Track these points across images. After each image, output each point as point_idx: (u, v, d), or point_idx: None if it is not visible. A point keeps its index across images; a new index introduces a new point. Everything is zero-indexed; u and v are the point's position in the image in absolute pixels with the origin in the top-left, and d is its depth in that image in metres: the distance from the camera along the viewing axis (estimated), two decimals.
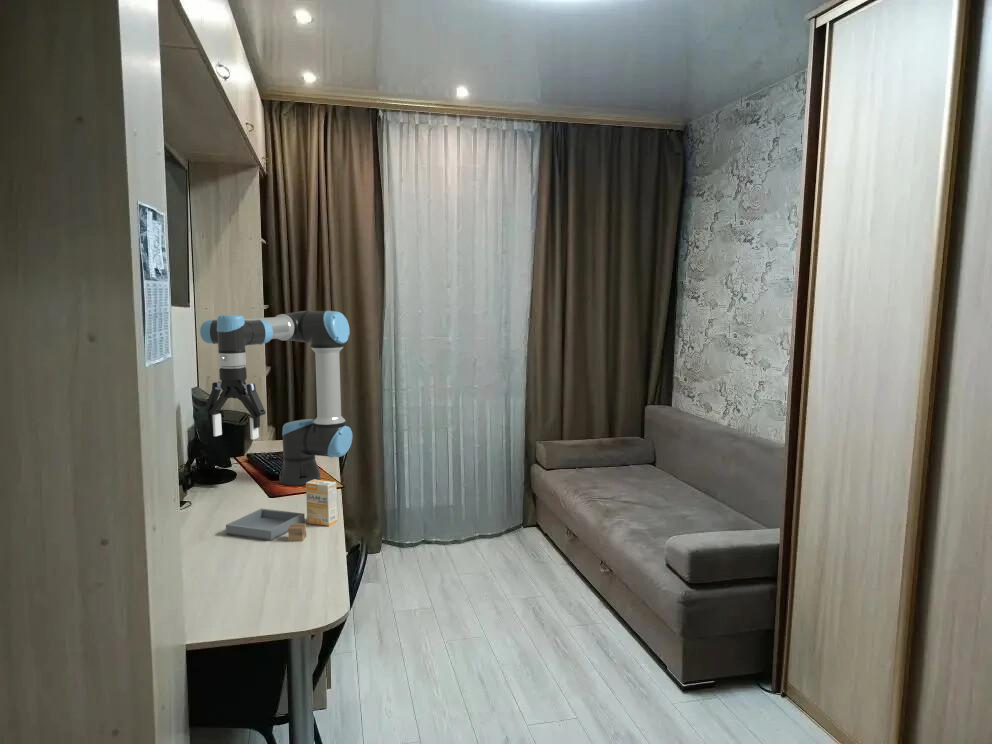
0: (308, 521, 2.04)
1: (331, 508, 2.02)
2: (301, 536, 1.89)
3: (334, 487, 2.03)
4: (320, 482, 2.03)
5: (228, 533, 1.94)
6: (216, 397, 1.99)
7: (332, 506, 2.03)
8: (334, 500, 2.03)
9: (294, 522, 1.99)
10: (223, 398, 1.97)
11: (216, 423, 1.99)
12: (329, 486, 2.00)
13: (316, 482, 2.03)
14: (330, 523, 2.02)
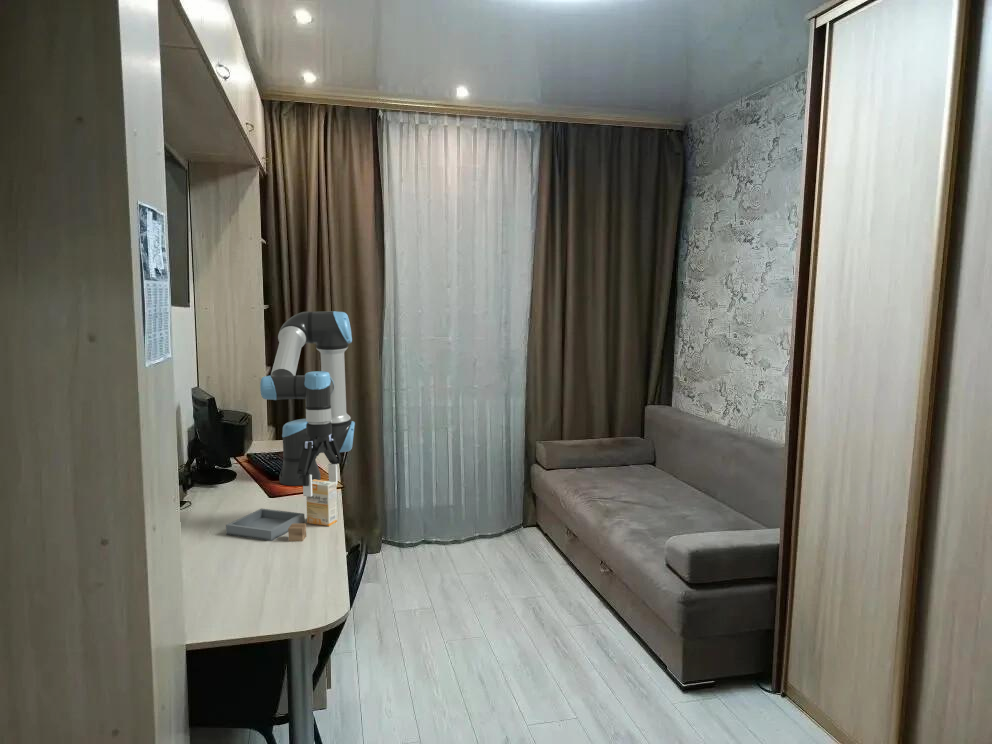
0: (308, 521, 2.04)
1: (331, 508, 2.02)
2: (301, 536, 1.89)
3: (334, 487, 2.03)
4: (320, 482, 2.03)
5: (228, 533, 1.94)
6: (332, 447, 2.08)
7: (332, 506, 2.03)
8: (334, 500, 2.03)
9: (294, 522, 1.99)
10: None
11: (330, 472, 2.09)
12: (329, 486, 2.00)
13: (316, 482, 2.03)
14: (330, 523, 2.02)
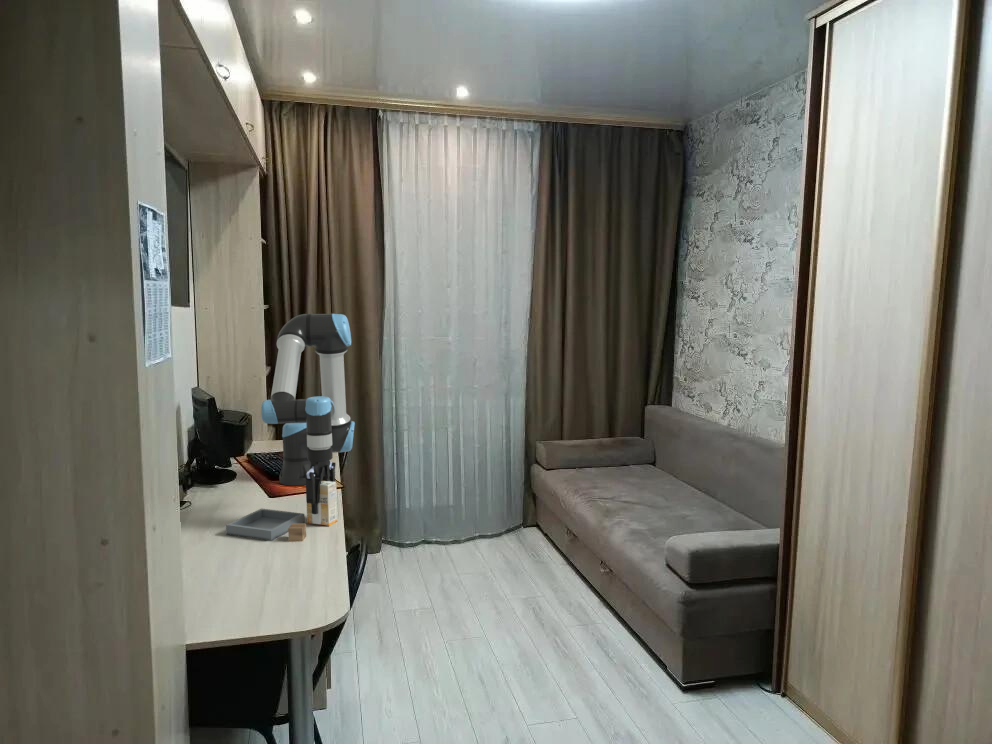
0: (308, 521, 2.04)
1: (331, 508, 2.02)
2: (301, 536, 1.89)
3: (334, 487, 2.03)
4: None
5: (228, 533, 1.94)
6: (330, 477, 2.08)
7: (332, 506, 2.03)
8: (334, 499, 2.03)
9: (294, 522, 1.99)
10: None
11: None
12: (329, 486, 2.00)
13: None
14: (330, 523, 2.02)
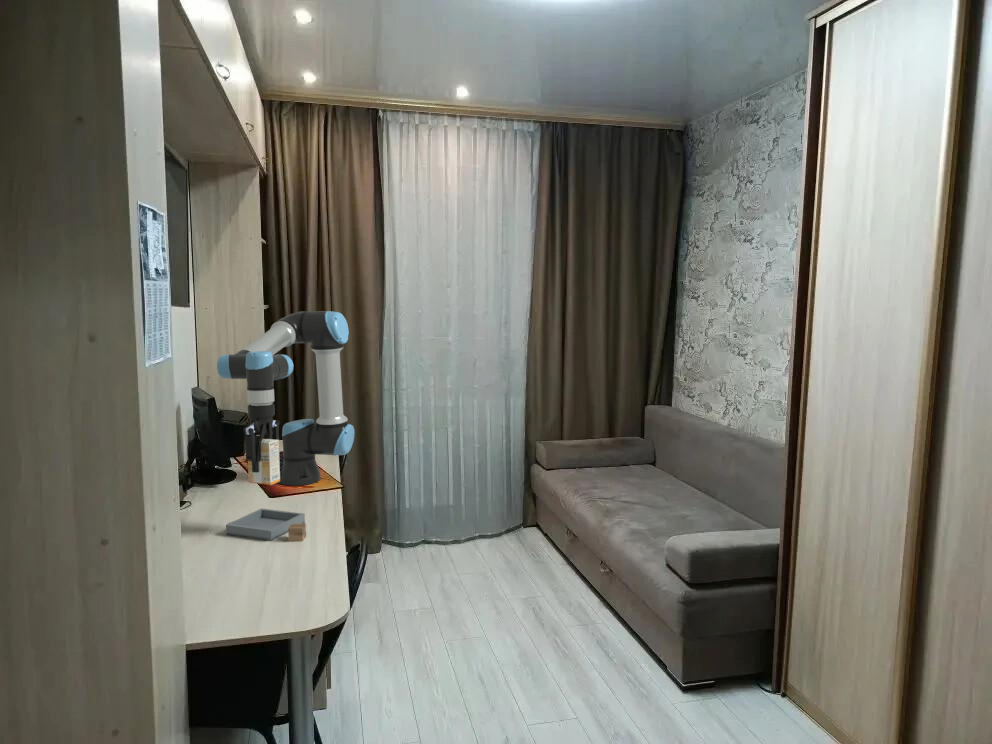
0: (250, 480, 1.97)
1: (273, 466, 1.95)
2: (301, 536, 1.89)
3: (276, 445, 1.96)
4: (262, 440, 1.96)
5: (228, 533, 1.94)
6: (273, 435, 2.01)
7: (274, 464, 1.96)
8: (276, 458, 1.96)
9: (294, 522, 1.99)
10: None
11: None
12: (270, 443, 1.94)
13: None
14: (272, 482, 1.95)
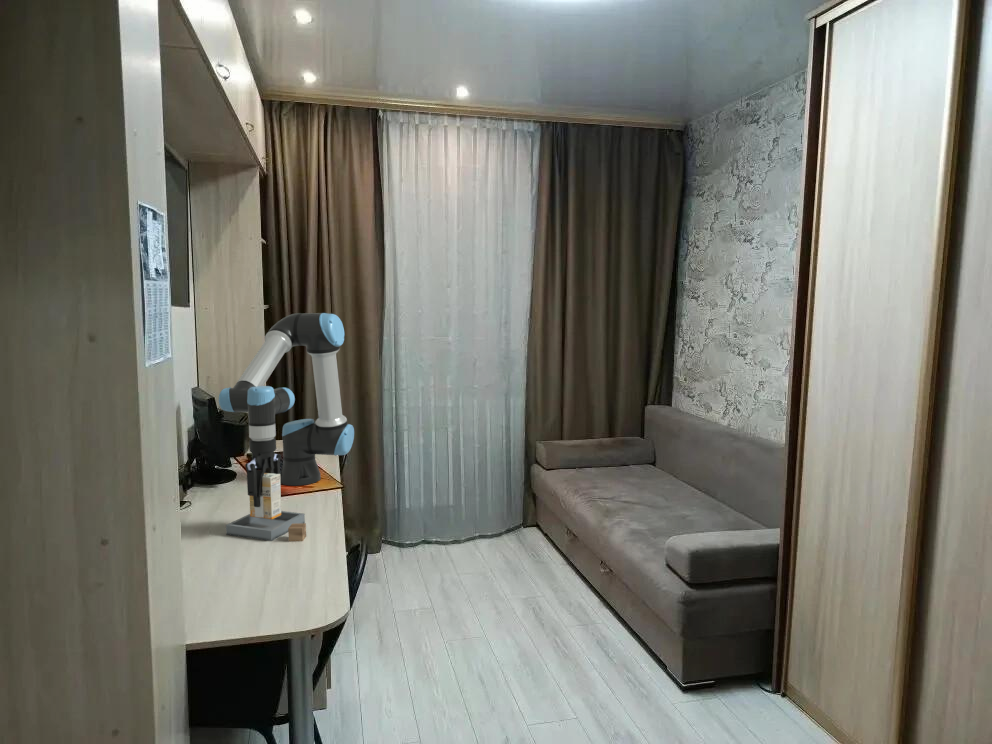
0: (251, 514, 1.98)
1: (274, 501, 1.96)
2: (301, 536, 1.89)
3: (278, 479, 1.97)
4: None
5: (228, 533, 1.94)
6: (274, 469, 2.02)
7: (276, 498, 1.97)
8: (277, 492, 1.97)
9: (294, 522, 1.99)
10: None
11: None
12: (272, 478, 1.95)
13: None
14: (273, 516, 1.96)
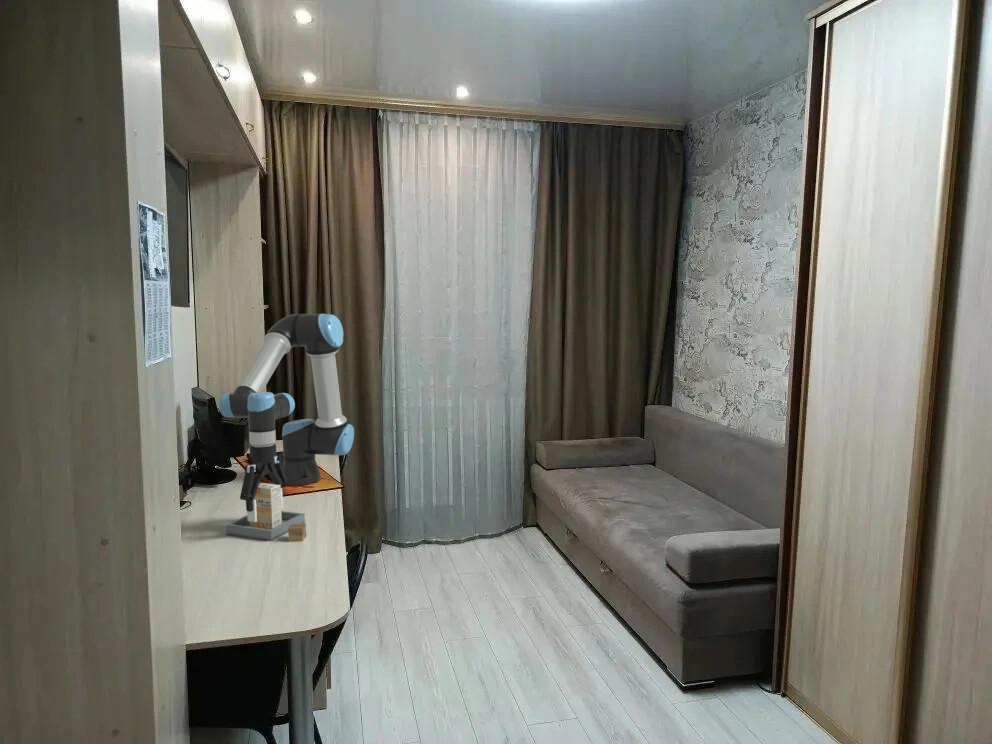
0: (251, 525, 1.98)
1: (275, 512, 1.97)
2: (301, 536, 1.89)
3: (278, 490, 1.98)
4: (263, 485, 1.97)
5: (228, 533, 1.94)
6: (278, 470, 2.04)
7: (276, 509, 1.97)
8: (278, 503, 1.98)
9: (294, 522, 1.99)
10: None
11: None
12: (272, 489, 1.95)
13: (259, 485, 1.97)
14: None
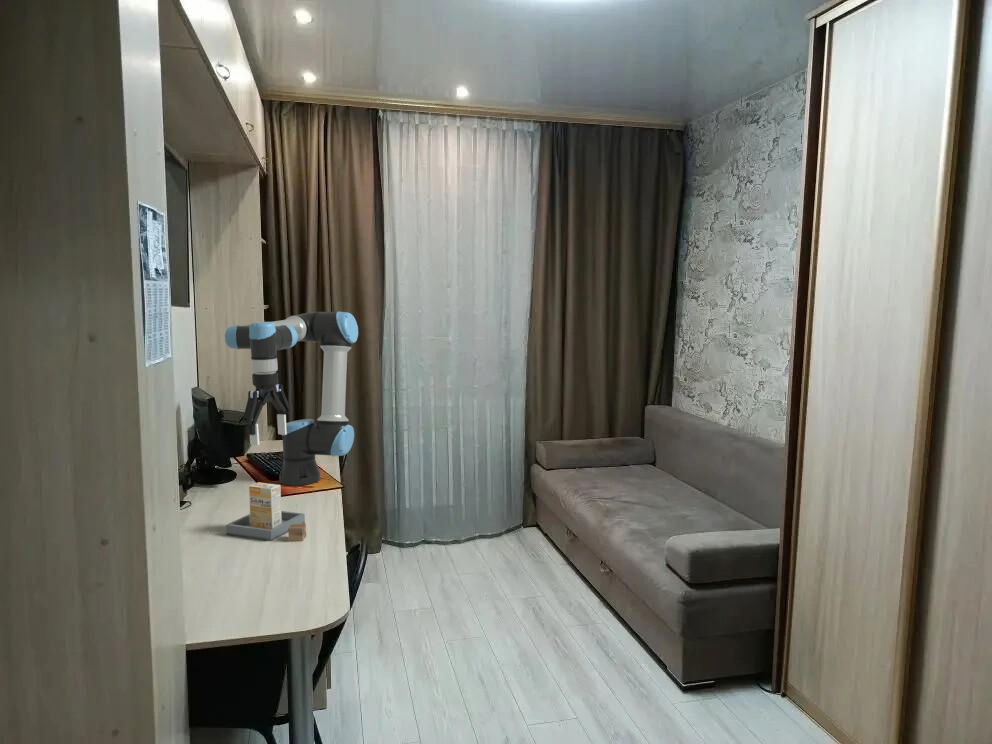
0: (251, 525, 1.98)
1: (275, 512, 1.97)
2: (301, 536, 1.89)
3: (278, 490, 1.98)
4: (264, 485, 1.97)
5: (228, 533, 1.94)
6: (280, 398, 2.10)
7: (276, 509, 1.97)
8: (278, 503, 1.98)
9: (294, 522, 1.99)
10: (270, 400, 2.07)
11: (279, 422, 2.11)
12: (272, 489, 1.95)
13: (259, 485, 1.97)
14: None
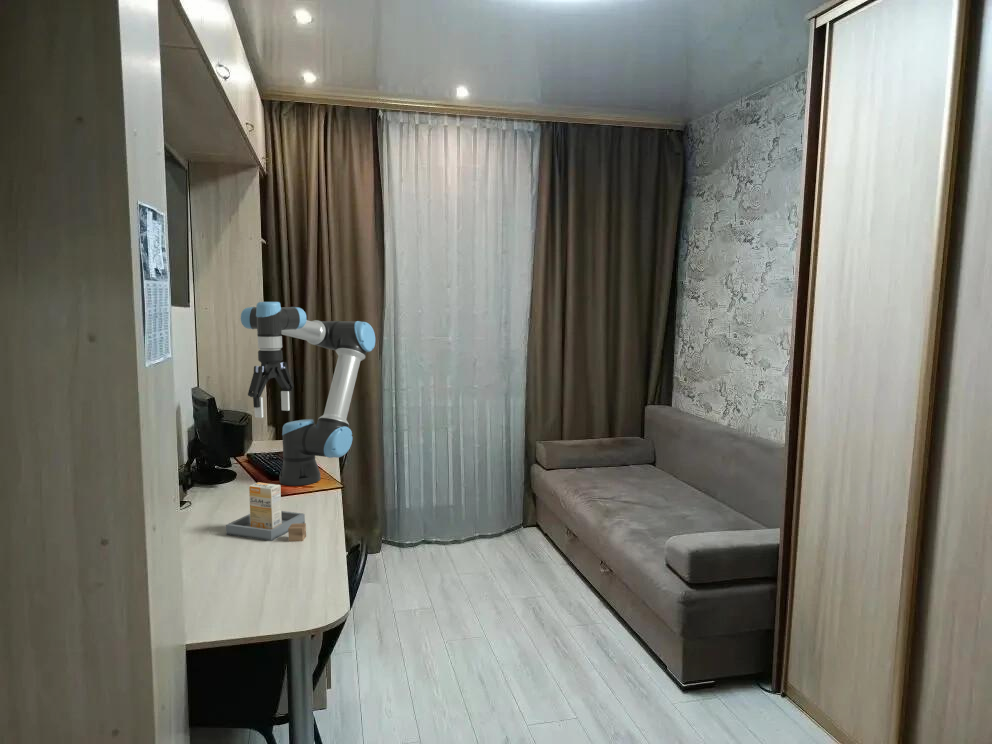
0: (251, 525, 1.98)
1: (275, 512, 1.97)
2: (301, 536, 1.89)
3: (278, 490, 1.98)
4: (264, 485, 1.97)
5: (228, 533, 1.94)
6: (284, 375, 2.21)
7: (276, 509, 1.97)
8: (278, 503, 1.98)
9: (294, 522, 1.99)
10: (274, 377, 2.18)
11: (283, 399, 2.22)
12: (272, 489, 1.95)
13: (259, 485, 1.97)
14: None
